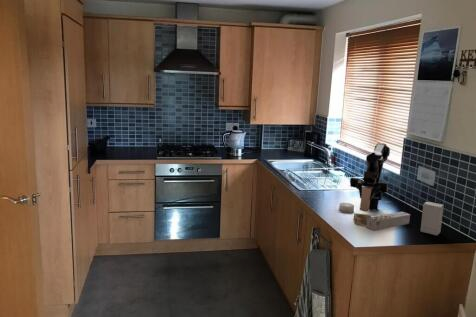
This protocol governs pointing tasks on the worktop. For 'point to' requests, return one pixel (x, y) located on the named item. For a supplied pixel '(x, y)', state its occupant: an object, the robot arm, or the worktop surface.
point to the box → (388, 220)
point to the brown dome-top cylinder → (365, 199)
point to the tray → (361, 219)
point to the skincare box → (431, 218)
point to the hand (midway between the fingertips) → (365, 198)
